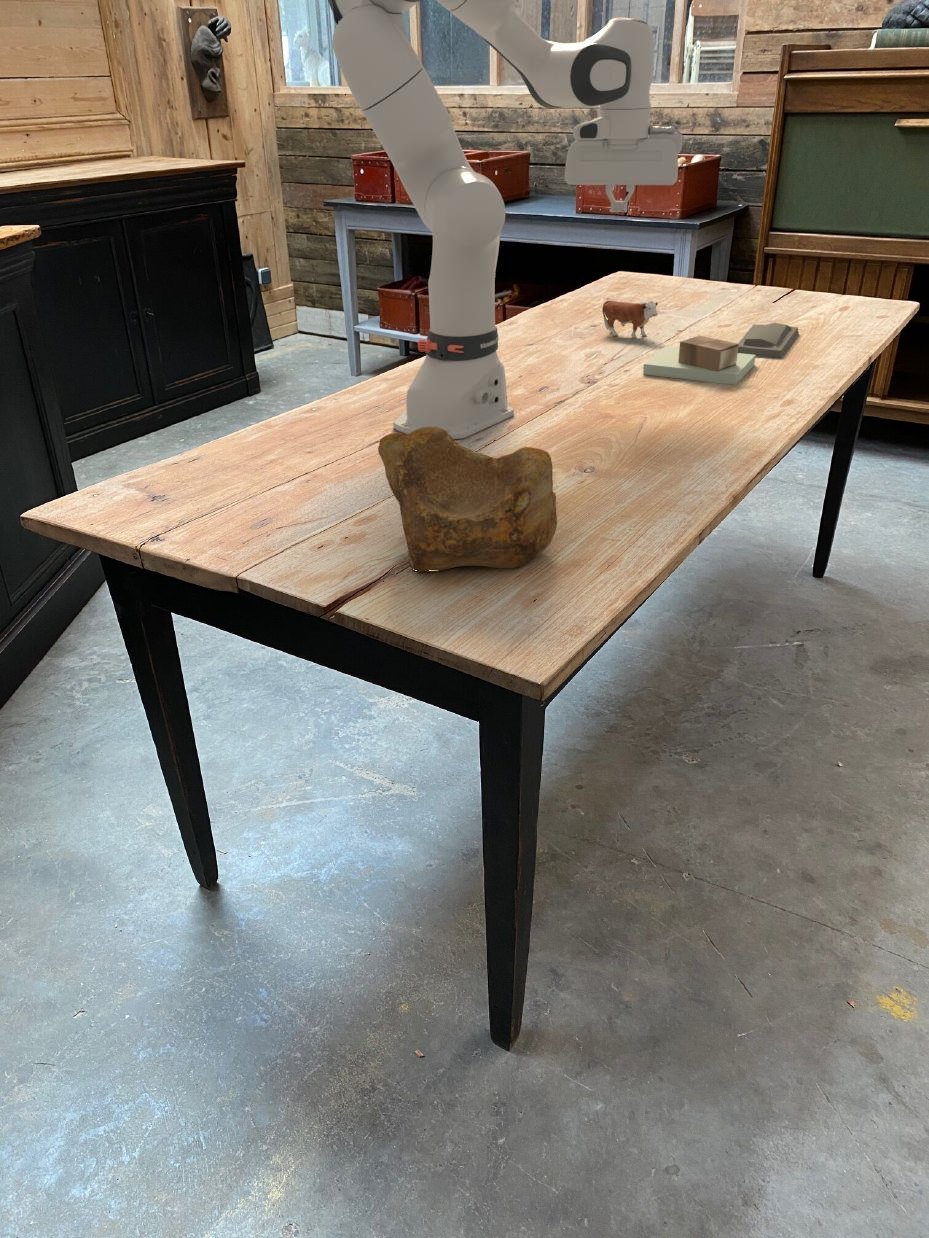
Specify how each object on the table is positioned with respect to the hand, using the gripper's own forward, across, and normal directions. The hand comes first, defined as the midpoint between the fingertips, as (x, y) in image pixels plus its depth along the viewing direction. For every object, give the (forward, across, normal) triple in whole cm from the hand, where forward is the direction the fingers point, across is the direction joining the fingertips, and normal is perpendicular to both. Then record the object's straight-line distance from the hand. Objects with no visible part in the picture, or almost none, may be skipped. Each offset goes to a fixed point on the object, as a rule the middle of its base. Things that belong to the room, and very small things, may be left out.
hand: (618, 211), depth 173 cm
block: (+24, -15, +1) cm, 29 cm away
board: (+28, -18, 0) cm, 33 cm away
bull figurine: (+29, -3, -24) cm, 37 cm away
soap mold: (+29, -31, -20) cm, 47 cm away
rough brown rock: (+30, +12, +86) cm, 91 cm away
